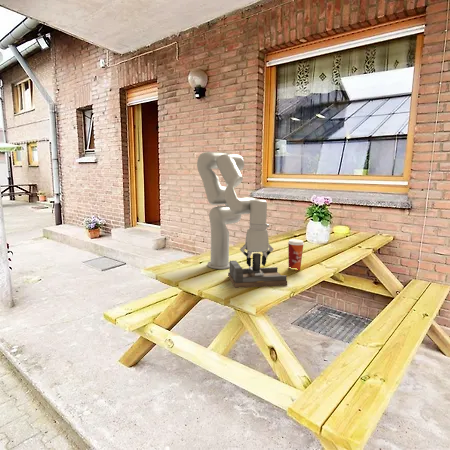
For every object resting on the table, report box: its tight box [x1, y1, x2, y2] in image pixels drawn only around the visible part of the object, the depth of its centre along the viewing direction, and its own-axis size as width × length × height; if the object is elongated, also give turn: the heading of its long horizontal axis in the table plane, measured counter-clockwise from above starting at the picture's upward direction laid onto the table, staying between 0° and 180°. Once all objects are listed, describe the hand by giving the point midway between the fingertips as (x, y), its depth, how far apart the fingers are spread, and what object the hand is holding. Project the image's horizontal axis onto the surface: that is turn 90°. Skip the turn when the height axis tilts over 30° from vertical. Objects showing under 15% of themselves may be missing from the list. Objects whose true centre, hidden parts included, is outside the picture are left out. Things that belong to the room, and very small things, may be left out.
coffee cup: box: [287, 238, 305, 271], centre depth 173 cm, size 8×8×15 cm
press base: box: [227, 260, 288, 289], centre depth 154 cm, size 15×24×8 cm, turn 101°
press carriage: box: [248, 252, 264, 277], centre depth 154 cm, size 10×4×10 cm, turn 11°
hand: (256, 265), depth 153 cm, fingers open, 6 cm apart
